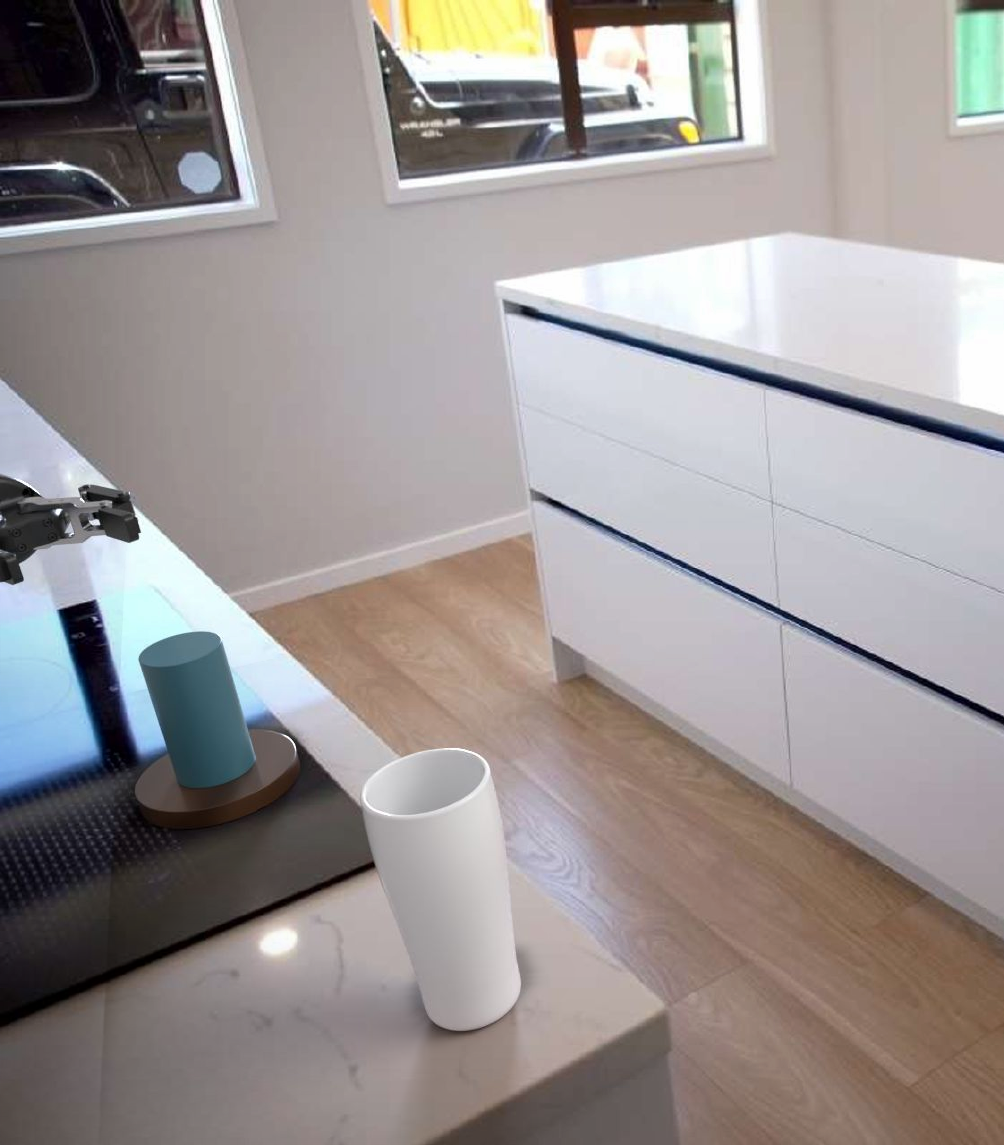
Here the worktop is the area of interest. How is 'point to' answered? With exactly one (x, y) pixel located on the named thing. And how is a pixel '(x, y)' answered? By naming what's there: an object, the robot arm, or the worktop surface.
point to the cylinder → (198, 708)
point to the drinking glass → (446, 881)
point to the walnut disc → (219, 787)
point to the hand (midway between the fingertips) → (76, 549)
